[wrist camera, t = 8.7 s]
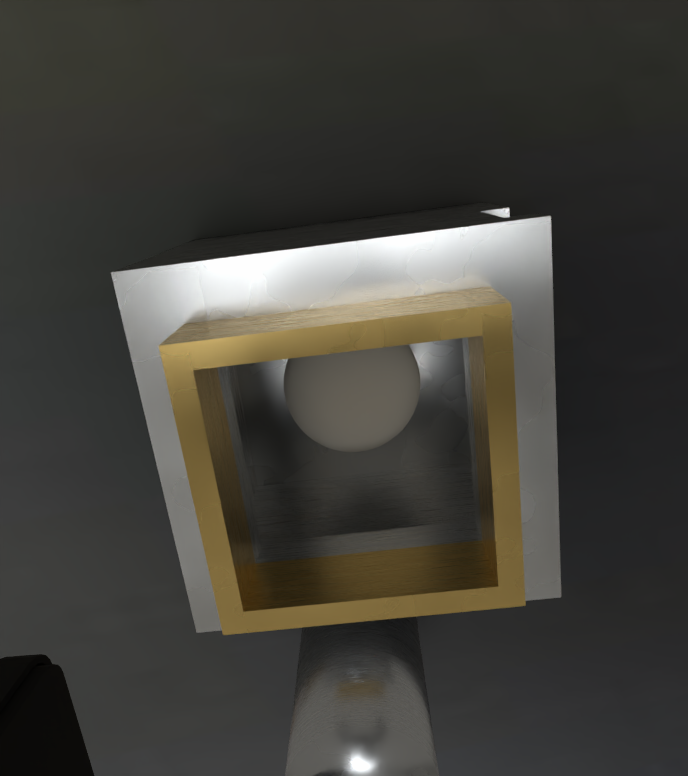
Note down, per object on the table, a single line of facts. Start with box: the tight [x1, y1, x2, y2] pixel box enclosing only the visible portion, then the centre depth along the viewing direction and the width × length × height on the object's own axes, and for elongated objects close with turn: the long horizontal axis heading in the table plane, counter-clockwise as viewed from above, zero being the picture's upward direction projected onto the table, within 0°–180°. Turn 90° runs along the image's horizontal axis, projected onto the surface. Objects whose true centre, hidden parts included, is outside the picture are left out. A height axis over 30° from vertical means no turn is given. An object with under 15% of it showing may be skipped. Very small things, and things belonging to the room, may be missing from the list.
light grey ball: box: [283, 344, 420, 452], centre depth 21 cm, size 4×4×4 cm
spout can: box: [285, 616, 439, 776], centre depth 22 cm, size 4×4×11 cm
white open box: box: [111, 202, 561, 635], centre depth 19 cm, size 10×10×10 cm
